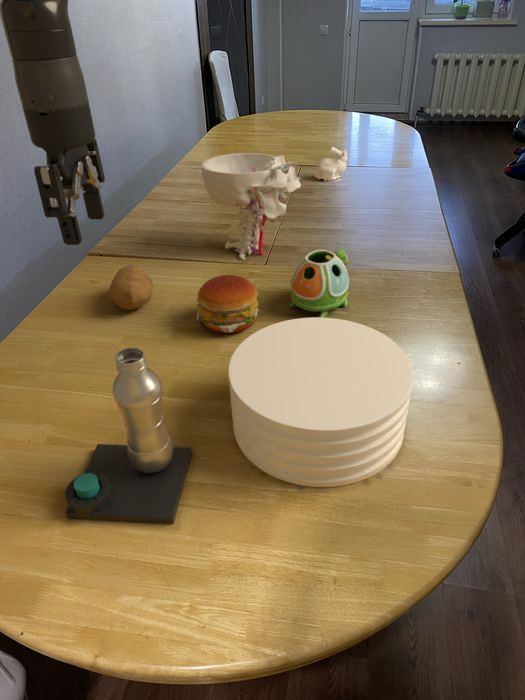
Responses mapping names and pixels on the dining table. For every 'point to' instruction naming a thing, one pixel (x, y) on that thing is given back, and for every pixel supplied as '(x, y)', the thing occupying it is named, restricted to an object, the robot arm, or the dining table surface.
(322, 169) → the rabbit
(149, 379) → the plastic bottle
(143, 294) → the potato
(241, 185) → the skull
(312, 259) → the turtle holder
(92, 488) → the button
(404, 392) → the plate stack
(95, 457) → the scale
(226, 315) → the burger
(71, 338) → the dining table surface
